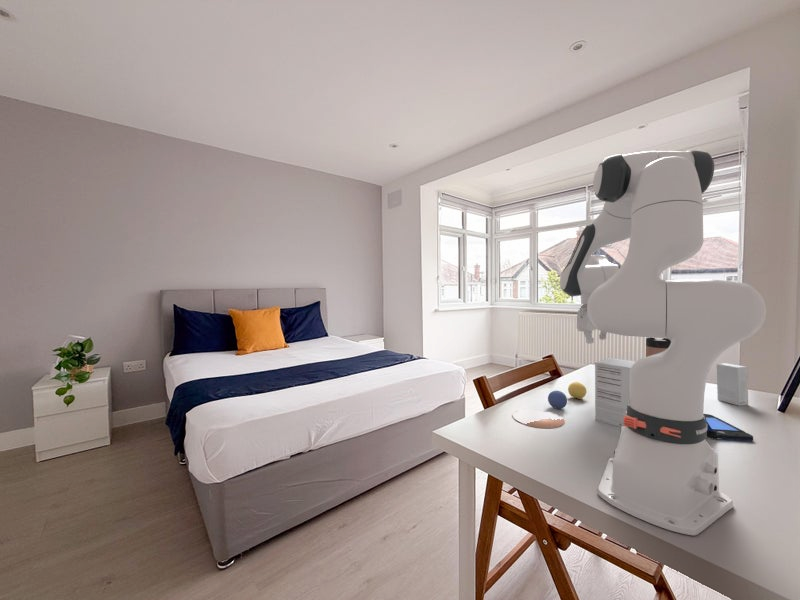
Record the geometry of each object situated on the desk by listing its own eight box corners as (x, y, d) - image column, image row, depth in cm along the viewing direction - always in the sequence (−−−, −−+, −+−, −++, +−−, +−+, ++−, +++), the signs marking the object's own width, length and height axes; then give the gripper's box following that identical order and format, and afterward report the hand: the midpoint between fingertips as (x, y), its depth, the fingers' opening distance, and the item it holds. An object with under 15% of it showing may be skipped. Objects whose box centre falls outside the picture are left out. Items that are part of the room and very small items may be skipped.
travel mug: (661, 403, 106) (661, 341, 106) (639, 395, 114) (639, 338, 113) (680, 401, 108) (681, 340, 107) (657, 393, 115) (658, 337, 115)
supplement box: (608, 412, 100) (608, 356, 99) (645, 422, 92) (645, 362, 92) (594, 420, 94) (594, 361, 93) (631, 431, 87) (631, 367, 86)
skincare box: (749, 405, 104) (749, 366, 103) (738, 406, 103) (738, 367, 102) (725, 398, 110) (726, 362, 109) (715, 399, 109) (716, 363, 108)
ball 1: (562, 412, 100) (562, 394, 100) (544, 408, 104) (544, 390, 104) (570, 408, 103) (570, 391, 103) (553, 403, 108) (553, 387, 107)
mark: (549, 433, 86) (549, 432, 86) (502, 417, 97) (502, 416, 97) (573, 419, 95) (573, 418, 95) (528, 406, 106) (528, 405, 106)
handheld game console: (756, 443, 79) (757, 405, 79) (692, 439, 82) (692, 402, 82) (710, 418, 95) (710, 386, 94) (657, 415, 97) (657, 384, 97)
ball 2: (582, 402, 109) (582, 385, 108) (565, 398, 113) (565, 382, 113) (589, 398, 112) (589, 382, 112) (572, 394, 116) (572, 379, 116)
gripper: (590, 304, 107) (591, 346, 108) (618, 300, 119) (619, 338, 120) (570, 304, 113) (572, 344, 113) (599, 300, 124) (600, 336, 125)
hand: (596, 341), depth 116 cm, fingers open, 8 cm apart
